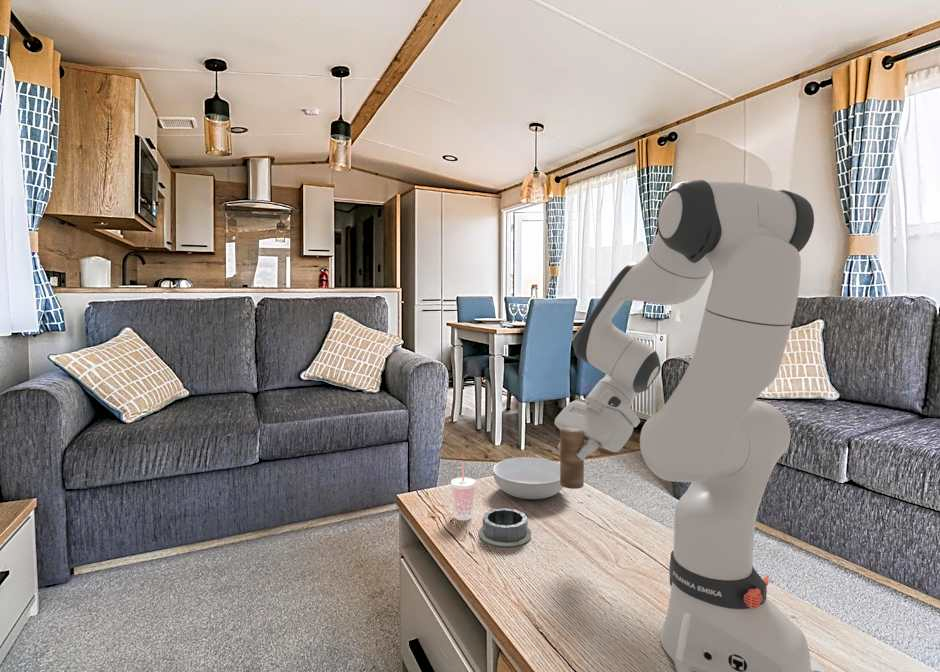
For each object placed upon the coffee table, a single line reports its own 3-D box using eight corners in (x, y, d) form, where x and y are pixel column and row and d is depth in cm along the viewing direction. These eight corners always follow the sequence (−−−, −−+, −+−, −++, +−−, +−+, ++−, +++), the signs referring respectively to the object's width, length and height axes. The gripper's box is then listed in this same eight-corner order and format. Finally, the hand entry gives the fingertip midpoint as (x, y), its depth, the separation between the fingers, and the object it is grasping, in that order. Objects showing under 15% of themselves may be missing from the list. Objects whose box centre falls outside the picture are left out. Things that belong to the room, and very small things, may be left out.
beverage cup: (480, 518, 128) (480, 463, 127) (459, 523, 125) (458, 467, 123) (467, 509, 133) (467, 456, 132) (446, 514, 130) (446, 460, 129)
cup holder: (541, 534, 119) (541, 517, 118) (507, 553, 110) (507, 534, 110) (503, 518, 127) (503, 502, 127) (468, 534, 119) (468, 517, 119)
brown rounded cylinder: (588, 484, 112) (588, 430, 111) (574, 490, 108) (575, 434, 107) (568, 478, 115) (569, 426, 114) (555, 484, 112) (555, 430, 111)
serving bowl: (483, 502, 137) (483, 477, 137) (503, 476, 157) (503, 454, 157) (562, 512, 131) (562, 486, 130) (572, 483, 151) (572, 460, 150)
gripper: (570, 388, 123) (535, 433, 119) (629, 404, 104) (590, 457, 101) (585, 405, 125) (551, 449, 121) (646, 423, 106) (608, 476, 103)
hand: (569, 453), depth 111 cm, fingers closed on brown rounded cylinder, 5 cm apart
